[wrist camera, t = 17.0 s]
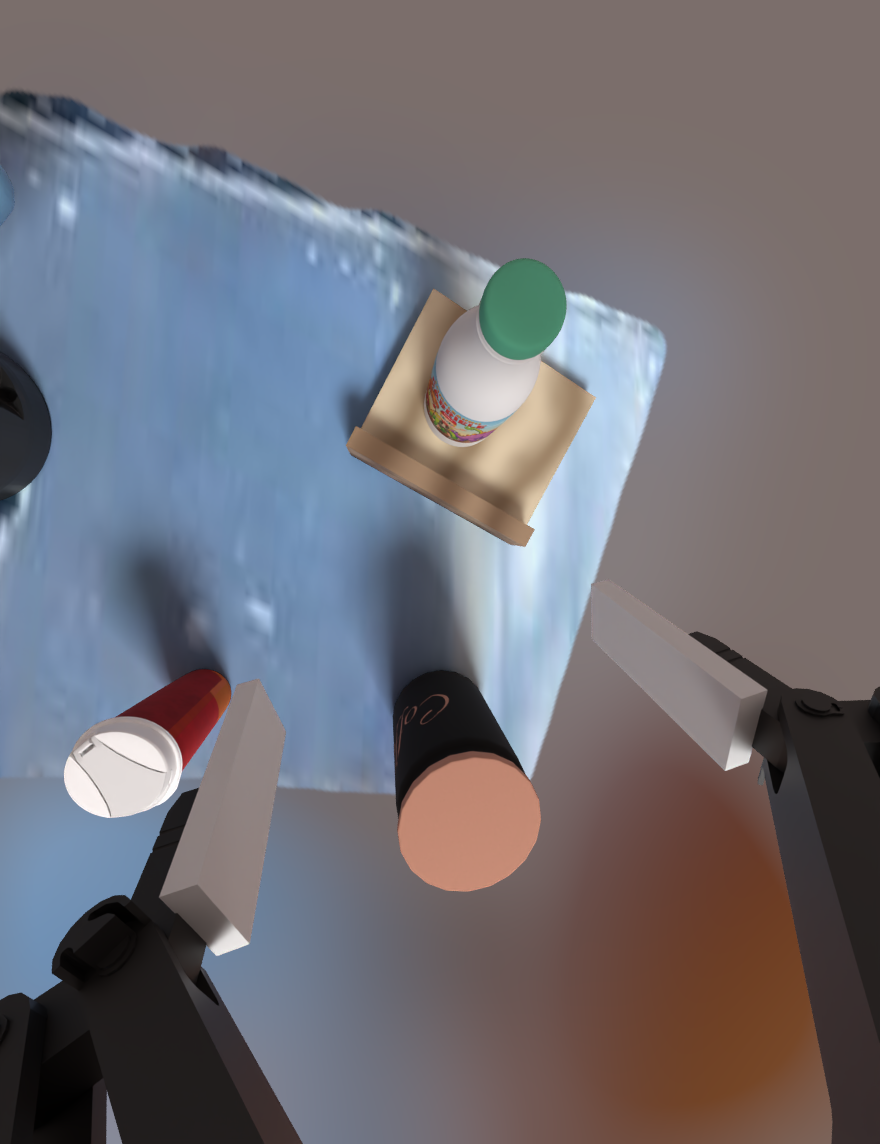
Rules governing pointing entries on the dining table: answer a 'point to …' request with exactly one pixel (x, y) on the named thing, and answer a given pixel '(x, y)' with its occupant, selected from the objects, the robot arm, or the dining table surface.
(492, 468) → the light wooden flat tray
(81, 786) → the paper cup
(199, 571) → the dining table surface
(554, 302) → the milk bottle
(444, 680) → the coffee jar
